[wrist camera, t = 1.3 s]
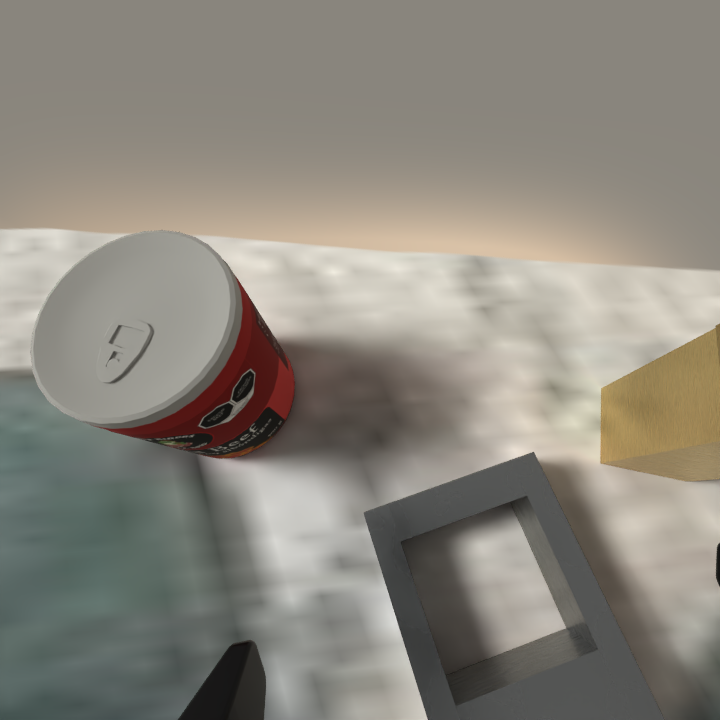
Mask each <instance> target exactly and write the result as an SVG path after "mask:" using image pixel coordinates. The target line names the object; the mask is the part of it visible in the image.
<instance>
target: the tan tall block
mask: <svg viewBox="0 0 720 720" xmlns="http://www.w3.org/2000/svg"><path fill="white" fill-rule="evenodd" d="M601 464H606V465H611V466H615V467H620V468H625V469H630V470H635V471H639V472H644V473H649V474H654V475H658V476H663V477H668V478H673V479H678V480H682V481H698V480H711V479H720V324H718V325H716V328H715V329H713V330H711V331H709V332H707V333H705V334H703V335H702V336H700V337H698V338H696V339H694V340H692V341H690V342H688V343H686V344H685V345H683V346H681V347H679V348H677V349H675V350H673V351H671V352H669V353H667V354H666V355H664V356H662V357H660V358H658V359H656V360H654V361H652V362H650V363H649V364H647V365H645V366H643V367H641V368H639V369H637V370H635V371H633V372H632V373H630V374H628V375H626V376H624V377H622V378H620V379H618V380H616V381H614V382H613V383H611V384H609V385H607V386H605V387H603V388H601Z"/></svg>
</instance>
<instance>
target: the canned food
mask: <svg viewBox="0 0 720 720" xmlns="http://www.w3.org/2000/svg"><path fill="white" fill-rule="evenodd" d="M30 353H31V362H32V370H33V373H34V376H35V379H36V381H37V384H38V387H39V388H40V390H41V391H42V392H43V394H44V395H45V397H46V398H47V400H48V401H49V402H50V403H52V404H53V405H54V406H55V407H56V408H58V409H59V410H60V411H61V412H63V413H65V414H67V415H69V416H72V417H73V418H75V419H78V420H80V421H82V422H84V423H87V424H89V425H91V426H95V427H99V428H103V429H106V430H109V431H111V432H115V433H119V434H123V435H127V436H130V437H134V438H138V439H142V440H146V441H150V442H153V443H157V444H161V445H165V446H169V447H173V448H177V449H180V450H184V451H188V452H192V453H196V454H200V455H203V456H208V457H213V458H219V459H220V458H234V457H238V456H242V455H245V454H247V453H249V452H252V451H254V450H256V449H258V448H259V447H261V446H262V445H263V444H265V443H266V442H268V441H269V440H270V439H271V438H272V437H273V436H274V435H275V434H276V433H277V432H278V431H279V429H280V428H281V427H282V425H283V424H284V422H285V421H286V418H287V416H288V414H289V412H290V409H291V406H292V402H293V398H294V387H295V381H294V374H293V370H292V367H291V364H290V362H289V359H288V358H287V356H286V355H285V353H284V352H283V350H282V348H281V347H280V345H279V344H278V342H277V340H276V339H275V337H274V336H273V334H272V332H271V331H270V329H269V328H268V326H267V325H266V323H265V321H264V320H263V318H262V317H261V315H260V313H259V312H258V310H257V309H256V307H255V305H254V304H253V302H252V301H251V299H250V298H249V296H248V294H247V293H246V291H245V290H244V288H243V287H242V285H241V283H240V282H239V280H238V279H237V277H236V276H235V275H234V274H233V272H232V270H231V269H230V267H229V266H228V264H227V263H226V262H225V261H224V260H223V259H222V258H221V256H220V255H219V254H218V253H217V252H215V251H214V250H213V249H212V248H211V247H210V246H209V245H208V244H206V243H204V242H202V241H201V240H199V239H197V238H195V237H193V236H190V235H186V234H183V233H180V232H172V231H163V230H160V231H144V232H140V233H135V234H131V235H127V236H124V237H121V238H119V239H116V240H114V241H111V242H109V243H107V244H105V245H103V246H101V247H100V248H98V249H96V250H94V251H92V252H91V253H89V254H88V255H87V256H85V257H84V258H83V259H82V260H80V261H79V262H78V263H76V264H75V265H74V266H73V267H72V268H71V269H70V270H69V271H68V272H67V273H66V274H65V275H64V276H63V277H62V278H61V279H60V280H59V282H58V283H57V284H56V286H55V287H54V288H53V290H52V291H51V292H50V294H49V295H48V297H47V299H46V301H45V303H44V304H43V306H42V308H41V310H40V312H39V314H38V317H37V320H36V324H35V327H34V330H33V333H32V342H31V351H30Z"/></svg>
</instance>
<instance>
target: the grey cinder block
mask: <svg viewBox="0 0 720 720" xmlns="http://www.w3.org/2000/svg"><path fill="white" fill-rule="evenodd" d="M508 502H511V504H512V507H513V509H514V511H515V513H516V516H517V518H518V520H519V522H520V524H521V527H522V529H523V531H524V533H525V536H526V538H527V540H528V542H529V545H530V547H531V549H532V551H533V554H534V556H535V558H536V560H537V563H538V565H539V567H540V569H541V572H542V574H543V576H544V578H545V581H546V583H547V585H548V587H549V590H550V592H551V594H552V596H553V598H554V601H555V603H556V605H557V607H558V610H559V612H560V614H561V616H562V619H563V621H564V623H565V625H566V629H564V630H561V631H558V632H556V633H553V634H551V635H548V636H546V637H543V638H541V639H538V640H535V641H533V642H530V643H528V644H525V645H523V646H520V647H518V648H515V649H512V650H510V651H507V652H505V653H502V654H500V655H497V656H494V657H492V658H489V659H487V660H484V661H482V662H479V663H477V664H474V665H471V666H469V667H466V668H464V669H461V670H459V671H456V672H454V673H451V674H448V675H446V676H445V673H444V670H443V667H442V664H441V661H440V658H439V655H438V652H437V649H436V646H435V643H434V640H433V637H432V634H431V631H430V628H429V625H428V622H427V619H426V616H425V613H424V610H423V607H422V604H421V601H420V598H419V595H418V593H417V590H416V587H415V584H414V581H413V578H412V575H411V572H410V569H409V566H408V563H407V560H406V557H405V554H404V551H403V548H402V545H401V541H404V540H406V539H409V538H412V537H415V536H417V535H420V534H423V533H426V532H428V531H431V530H434V529H437V528H439V527H442V526H445V525H448V524H450V523H453V522H456V521H459V520H461V519H464V518H467V517H470V516H472V515H475V514H478V513H481V512H483V511H486V510H489V509H491V508H494V507H497V506H500V505H502V504H505V503H508ZM364 516H365V519H366V522H367V525H368V529H369V532H370V535H371V538H372V541H373V545H374V548H375V551H376V554H377V557H378V561H379V564H380V567H381V570H382V574H383V577H384V580H385V583H386V586H387V590H388V593H389V596H390V599H391V602H392V606H393V609H394V612H395V615H396V618H397V622H398V625H399V628H400V631H401V634H402V638H403V641H404V644H405V647H406V650H407V654H408V657H409V660H410V663H411V667H412V670H413V673H414V676H415V679H416V683H417V686H418V689H419V692H420V695H421V699H422V702H423V705H424V708H425V711H426V715H427V718H428V720H664V718H663V716H662V713H661V711H660V709H659V707H658V705H657V703H656V701H655V699H654V697H653V695H652V693H651V691H650V689H649V687H648V685H647V683H646V681H645V679H644V677H643V675H642V673H641V670H640V668H639V666H638V664H637V662H636V660H635V658H634V656H633V654H632V652H631V650H630V648H629V646H628V644H627V642H626V640H625V638H624V636H623V634H622V632H621V630H620V627H619V625H618V623H617V621H616V619H615V617H614V615H613V613H612V611H611V609H610V607H609V605H608V603H607V601H606V599H605V597H604V595H603V593H602V591H601V589H600V587H599V584H598V582H597V580H596V578H595V576H594V574H593V572H592V570H591V568H590V566H589V564H588V562H587V560H586V558H585V556H584V554H583V552H582V550H581V548H580V546H579V544H578V541H577V539H576V537H575V535H574V533H573V531H572V529H571V527H570V525H569V523H568V521H567V519H566V517H565V515H564V513H563V511H562V509H561V507H560V505H559V503H558V501H557V498H556V496H555V494H554V492H553V490H552V488H551V486H550V484H549V482H548V480H547V478H546V476H545V474H544V472H543V470H542V468H541V466H540V464H539V462H538V460H537V458H536V455H535V453H534V452H532V453H529V454H527V455H524V456H521V457H518V458H515V459H512V460H509V461H506V462H504V463H501V464H498V465H495V466H492V467H490V468H487V469H484V470H481V471H478V472H476V473H473V474H470V475H467V476H464V477H462V478H459V479H456V480H453V481H450V482H448V483H445V484H442V485H439V486H436V487H434V488H431V489H428V490H425V491H422V492H420V493H417V494H414V495H411V496H408V497H406V498H403V499H400V500H397V501H394V502H392V503H389V504H386V505H383V506H380V507H378V508H375V509H372V510H369V511H366V512H364Z"/></svg>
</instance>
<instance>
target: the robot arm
mask: <svg viewBox="0 0 720 720" xmlns="http://www.w3.org/2000/svg"><path fill="white" fill-rule="evenodd" d="M716 579H717V582H718V584H719V586H720V543H719V544H718V546H717V559H716ZM265 695H266V676H265V671H264V668H263V665H262V662H261V658H260V655H259V652H258V649H257V646H256V644H255V642H254V641H253V640H247V641H242V642H237V643H234V644H232V645H231V646H230V647H229V648H228V649H227V651H226V652H225V653H224V655H223V656H222V658H221V659H220V661H219V662H218V663H217V665H216V666H215V668H214V669H213V671H212V672H211V673H210V675H209V676H208V678H207V679H206V681H205V682H204V683H203V685H202V686H201V688H200V689H199V690H198V692H197V693H196V695H195V696H194V698H193V699H192V700H191V702H190V703H189V705H188V706H187V708H186V709H185V710H184V712H183V713H182V715H181V716H180V717H179V719H178V720H264V710H265Z"/></svg>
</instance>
